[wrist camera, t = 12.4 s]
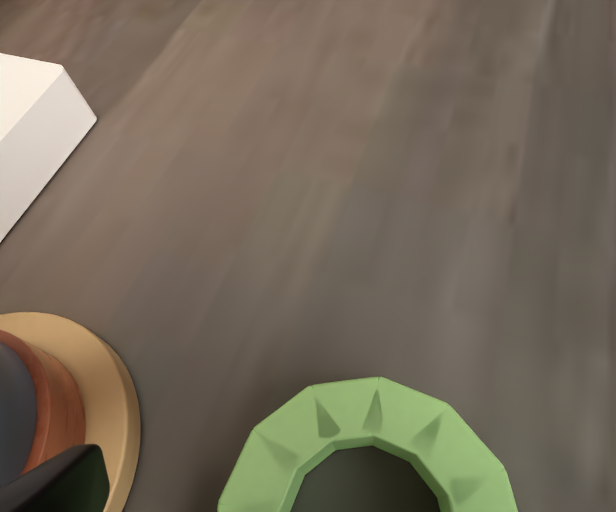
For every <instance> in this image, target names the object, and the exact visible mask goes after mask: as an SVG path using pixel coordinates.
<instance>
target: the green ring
mask: <svg viewBox="0 0 616 512" xmlns="http://www.w3.org/2000/svg"><path fill="white" fill-rule="evenodd" d="M365 446H375V447H377V448H379V449H381V450H384V451H386V452H388V453H390V454H392V455H395V456H397V457H399V458H401V459H404V460H406V461H408V462H410V463H411V465H412V466H413V467H414V469H415V470H416V471H417V472H418V474H419V475H420V476H421V478H422V479H423V480H424V481H425V483H426V484H427V485H428V487H429V488H430V489H431V490H432V492H433V493H434V494H435V496H436V497H437V499H438V504H439V509H440V512H518V510H517V506H516V503H515V500H514V496H513V493H512V489H511V486H510V482H509V479H508V476H507V472H506V471H505V469H504V466H503V465H502V464H501V462H500V461H499V460H498V459H497V458H496V457H495V456H494V454H493V453H492V452H491V451H490V450H489V449H488V448H487V447H486V445H485V444H484V443H483V442H482V441H481V440H480V439H479V437H478V436H477V435H476V434H475V433H474V432H473V431H472V430H471V428H470V427H469V426H468V425H467V424H466V423H465V422H464V420H463V419H462V418H461V417H460V416H459V415H458V414H457V413H456V411H455V410H454V409H453V408H452V407H451V406H450V405H448V404H447V403H446V402H444V401H441V400H439V399H436V398H434V397H431V396H429V395H426V394H424V393H421V392H419V391H416V390H414V389H411V388H409V387H406V386H404V385H401V384H399V383H396V382H394V381H391V380H389V379H386V378H384V377H381V376H379V377H368V378H361V379H353V380H345V381H338V382H330V383H322V384H315V385H312V386H308V387H306V388H305V389H304V390H302V391H301V392H300V393H298V394H297V395H296V396H294V397H293V398H292V399H291V400H289V401H288V402H287V403H285V404H284V405H283V406H281V407H280V408H279V409H277V410H276V411H275V412H273V413H272V414H271V415H269V416H268V417H267V418H266V419H264V420H263V421H262V422H260V423H259V424H258V425H256V426H255V427H254V428H253V430H252V431H251V433H250V435H249V437H248V439H247V441H246V443H245V445H244V448H243V450H242V452H241V454H240V456H239V458H238V460H237V462H236V465H235V467H234V469H233V471H232V473H231V475H230V477H229V479H228V481H227V484H226V486H225V488H224V490H223V492H222V494H221V496H220V498H219V502H218V503H219V504H218V507H217V512H290V511H291V508H292V506H293V503H294V501H295V498H296V496H297V493H298V491H299V488H300V486H301V483H302V481H303V478H304V476H305V475H306V474H307V473H308V472H309V471H311V470H312V469H313V468H314V467H316V466H317V465H318V464H319V463H320V462H322V461H323V460H324V459H325V458H327V457H328V456H329V455H330V454H332V453H333V452H334V451H335V450H341V449H349V448H357V447H365Z"/></svg>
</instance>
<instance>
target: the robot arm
mask: <svg viewBox="0 0 616 512" xmlns="http://www.w3.org/2000/svg"><path fill="white" fill-rule="evenodd" d="M109 492H110V482H109V477H108V473H107V469H106V465H105V460H104V456H103V452H102V449H101V448H100V446H99V445H97V444H77V445H73V446H71V447H69V448H68V449H66V450H64V451H62V452H61V453H59V454H57V455H56V456H54V457H52V458H50V459H49V460H47V461H45V462H44V463H42V464H40V465H38V466H37V467H35V468H33V469H32V470H30V471H28V472H26V473H25V474H23V475H21V476H20V477H18V478H16V479H14V480H13V481H11V482H9V483H8V484H6V485H4V486H2V487H1V488H0V512H103V511H104V508H105V506H106V503H107V500H108V497H109Z"/></svg>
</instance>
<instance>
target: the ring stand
mask: <svg viewBox="0 0 616 512" xmlns="http://www.w3.org/2000/svg"><path fill="white" fill-rule="evenodd" d="M77 444H97V445H99V446H100V448H101V449H102V452H103V456H104V460H105V465H106V469H107V473H108V477H109V482H110V492H109V497H108V500H107V503H106V506H105V508H104V511H103V512H122V510H123V508H124V506H125V503H126V500H127V497H128V495H129V492H130V489H131V486H132V483H133V479H134V475H135V471H136V467H137V462H138V455H139V447H140V412H139V404H138V398H137V395H136V391H135V387H134V384H133V381H132V379H131V377H130V375H129V372H128V370H127V368H126V367H125V365H124V363H123V362H122V360H121V359H120V357H119V356H118V355H117V354H116V352H115V351H114V350H113V349H112V348H111V347H110V346H109V345H108V344H107V343H106V342H104V341H103V340H102V339H100V338H99V337H98V336H97V335H95V334H94V333H92V332H91V331H89V330H88V329H86V328H85V327H83V326H81V325H79V324H78V323H76V322H74V321H72V320H70V319H67V318H64V317H61V316H58V315H53V314H47V313H42V312H18V313H7V314H3V315H0V488H1V487H2V486H4V485H6V484H8V483H9V482H11V481H13V480H14V479H16V478H18V477H20V476H21V475H23V474H25V473H26V472H28V471H30V470H32V469H33V468H35V467H37V466H38V465H40V464H42V463H44V462H45V461H47V460H49V459H50V458H52V457H54V456H56V455H57V454H59V453H61V452H62V451H64V450H66V449H68V448H69V447H71V446H73V445H77Z"/></svg>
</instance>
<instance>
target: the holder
mask: <svg viewBox="0 0 616 512" xmlns="http://www.w3.org/2000/svg"><path fill="white" fill-rule="evenodd" d="M96 119H97V118H96V116H95V114H94V113H93V111H92V110H91V108H90V107H89V105H88V104H87V102H86V101H85V99H84V98H83V96H82V95H81V93H80V92H79V90H78V89H77V87H76V86H75V84H74V83H73V81H72V80H71V78H70V77H69V75H68V74H67V72H66V71H65V69H64V68H63V66H62V65H59V64H54V63H48V62H43V61H38V60H33V59H28V58H23V57H17V56H12V55H7V54H2V53H0V242H1V241H2V239H3V238H4V237H5V236H6V234H7V233H8V232H9V231H10V229H11V228H12V227H13V226H14V224H15V223H16V222H17V221H18V219H19V218H20V217H21V215H22V214H23V213H24V212H25V210H26V209H27V208H28V207H29V205H30V204H31V203H32V202H33V200H34V199H35V198H36V197H37V195H38V194H39V193H40V191H41V190H42V189H43V188H44V186H45V185H46V184H47V183H48V181H49V180H50V179H51V178H52V176H53V175H54V174H55V173H56V171H57V170H58V169H59V168H60V166H61V165H62V164H63V162H64V161H65V160H66V159H67V157H68V156H69V155H70V154H71V152H72V151H73V150H74V149H75V147H76V146H77V145H78V144H79V142H80V141H81V140H82V139H83V137H84V136H85V135H86V133H87V132H88V131H89V130H90V128H91V127H92V126H93V125H94V123H95V122H96Z"/></svg>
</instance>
